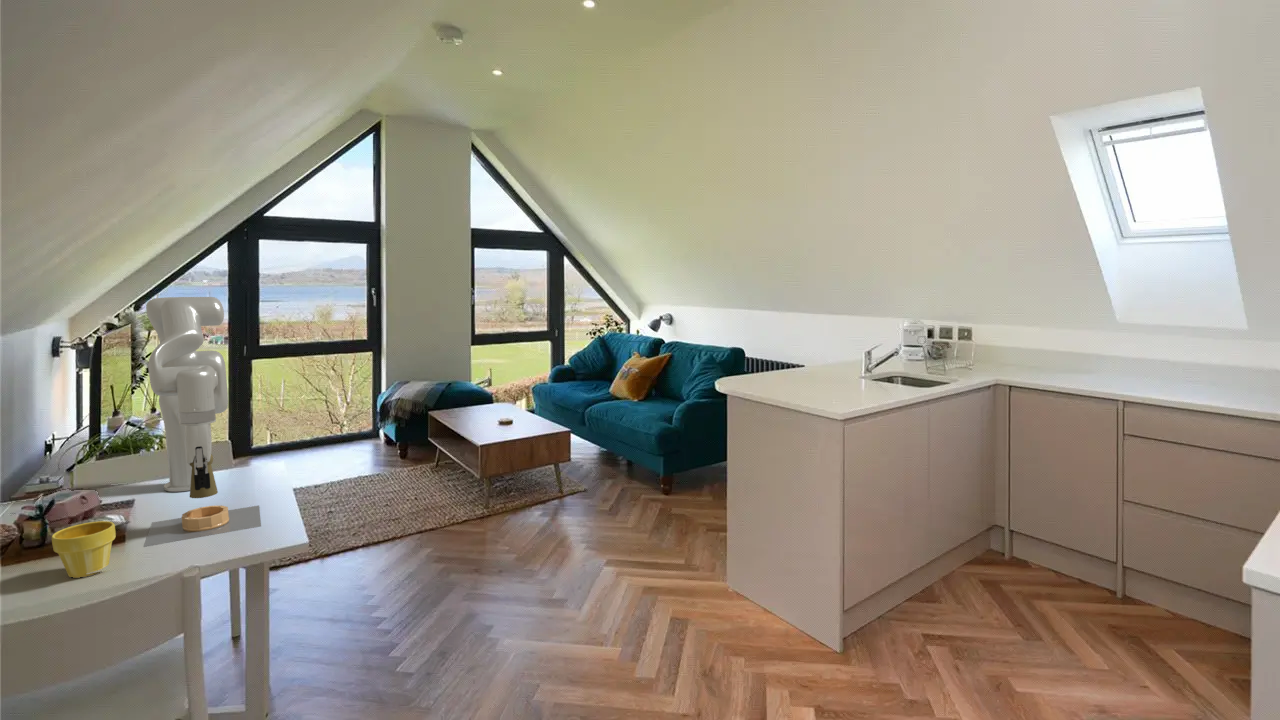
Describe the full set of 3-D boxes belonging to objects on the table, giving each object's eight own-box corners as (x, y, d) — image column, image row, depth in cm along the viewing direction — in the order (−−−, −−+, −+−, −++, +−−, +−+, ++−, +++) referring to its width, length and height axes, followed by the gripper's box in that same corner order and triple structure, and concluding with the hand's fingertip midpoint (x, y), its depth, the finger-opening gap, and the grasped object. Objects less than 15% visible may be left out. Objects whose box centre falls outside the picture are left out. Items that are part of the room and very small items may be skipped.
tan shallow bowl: (184, 522, 162) (183, 509, 162) (229, 514, 168) (228, 502, 167) (181, 534, 154) (180, 522, 154) (229, 526, 159) (228, 514, 159)
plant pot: (52, 572, 136) (47, 530, 135) (113, 557, 144) (109, 516, 142) (60, 587, 129) (55, 543, 128) (123, 570, 137) (119, 528, 136)
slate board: (152, 526, 162) (152, 522, 162) (259, 508, 175) (259, 505, 175) (143, 550, 147) (143, 546, 147) (261, 529, 160) (261, 526, 160)
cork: (203, 499, 156) (199, 456, 155) (183, 497, 157) (179, 455, 156) (223, 491, 162) (220, 450, 161) (204, 489, 163) (201, 449, 162)
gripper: (182, 413, 162) (187, 480, 165) (176, 425, 148) (183, 498, 151) (216, 410, 166) (221, 475, 169) (214, 421, 153) (220, 492, 155)
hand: (203, 485), depth 160 cm, fingers closed on cork, 4 cm apart
